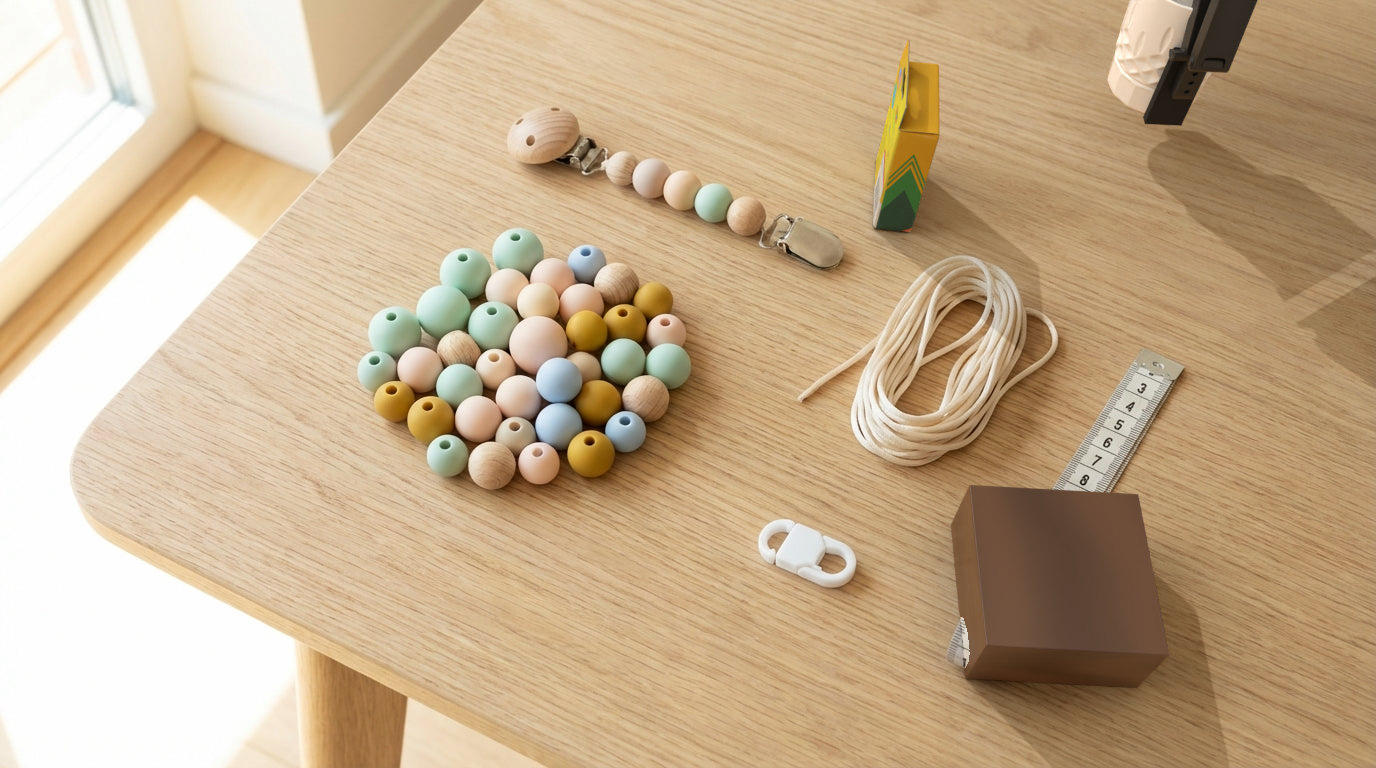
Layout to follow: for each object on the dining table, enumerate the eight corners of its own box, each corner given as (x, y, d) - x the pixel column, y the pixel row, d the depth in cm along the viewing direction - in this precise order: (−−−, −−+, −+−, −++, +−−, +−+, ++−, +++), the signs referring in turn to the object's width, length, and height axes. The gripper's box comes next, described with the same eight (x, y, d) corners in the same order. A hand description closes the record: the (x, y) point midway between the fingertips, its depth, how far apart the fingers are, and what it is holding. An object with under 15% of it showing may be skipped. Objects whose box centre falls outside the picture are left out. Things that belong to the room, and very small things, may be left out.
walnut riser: (1110, 532, 76) (1138, 493, 72) (1138, 688, 70) (1170, 655, 66) (950, 524, 76) (969, 484, 71) (964, 679, 70) (986, 645, 66)
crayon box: (912, 234, 89) (946, 116, 79) (871, 230, 89) (901, 110, 79) (914, 162, 93) (946, 41, 83) (875, 157, 93) (903, 36, 84)
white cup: (1226, 98, 92) (1282, -12, 84) (1150, 136, 90) (1200, 26, 81) (1152, 39, 96) (1198, -72, 88) (1077, 74, 93) (1118, -38, 85)
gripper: (1184, -296, 80) (1083, -5, 98) (1255, -112, 68) (1125, 178, 87) (1299, -291, 80) (1175, -1, 98) (1390, -106, 68) (1230, 183, 87)
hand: (1152, 83), depth 93 cm, fingers closed on white cup, 7 cm apart
